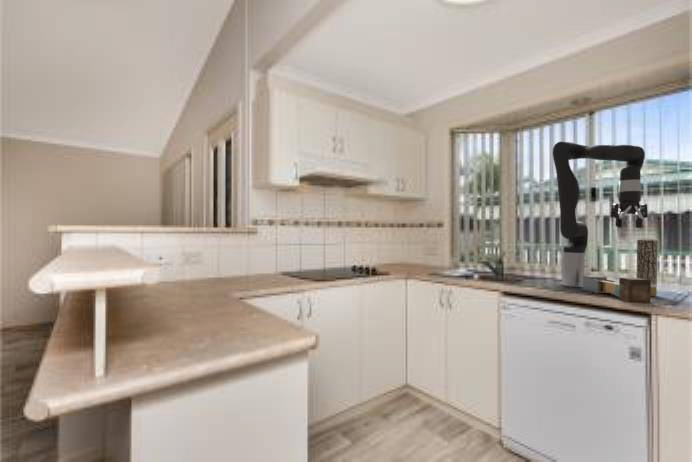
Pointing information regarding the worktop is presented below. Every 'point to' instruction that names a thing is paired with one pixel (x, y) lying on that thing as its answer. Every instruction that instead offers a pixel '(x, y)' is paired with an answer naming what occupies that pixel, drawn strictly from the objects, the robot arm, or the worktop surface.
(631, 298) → the socket block
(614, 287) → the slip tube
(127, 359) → the worktop surface
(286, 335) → the worktop surface
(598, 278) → the grey multicoloured box
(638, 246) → the bark textured post
